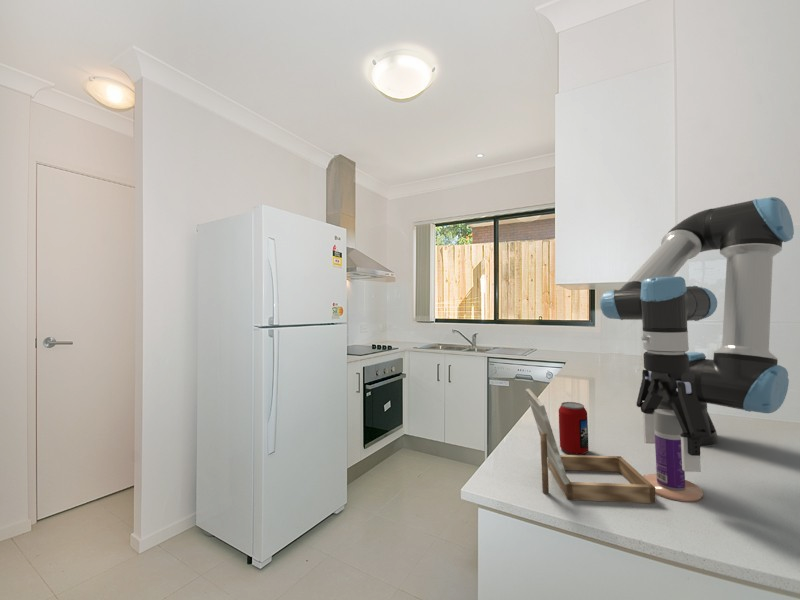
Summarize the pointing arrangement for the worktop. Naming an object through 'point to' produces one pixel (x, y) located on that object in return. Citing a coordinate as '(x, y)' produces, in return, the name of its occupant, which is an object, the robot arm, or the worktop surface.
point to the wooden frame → (586, 468)
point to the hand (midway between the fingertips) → (669, 455)
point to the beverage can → (573, 428)
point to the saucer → (687, 495)
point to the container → (668, 450)
